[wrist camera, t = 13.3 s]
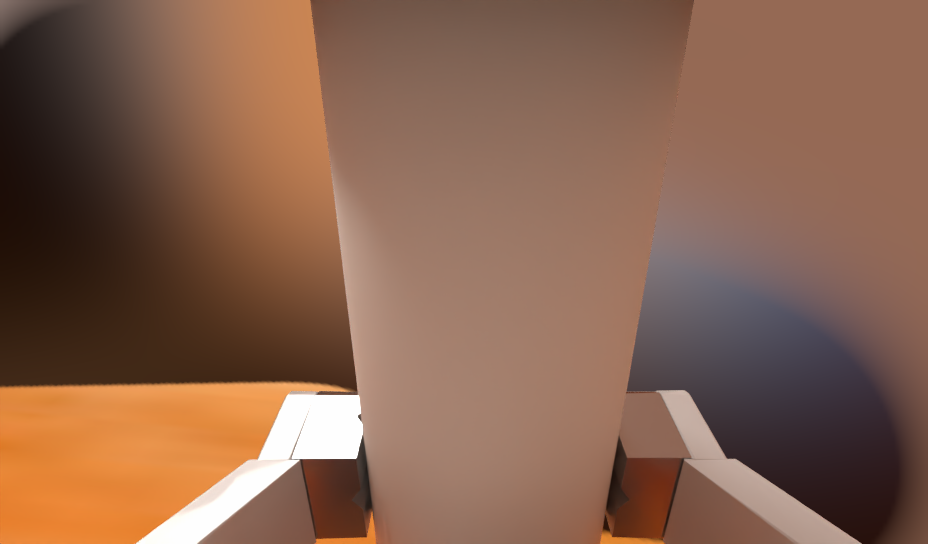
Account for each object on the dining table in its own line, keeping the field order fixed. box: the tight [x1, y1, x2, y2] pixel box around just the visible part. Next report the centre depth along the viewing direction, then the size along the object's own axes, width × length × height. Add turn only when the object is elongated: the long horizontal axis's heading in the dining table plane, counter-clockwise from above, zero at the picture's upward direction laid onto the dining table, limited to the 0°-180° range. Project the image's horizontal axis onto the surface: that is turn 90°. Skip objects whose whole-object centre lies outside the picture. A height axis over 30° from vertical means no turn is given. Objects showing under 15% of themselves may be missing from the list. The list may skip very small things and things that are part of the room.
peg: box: [311, 0, 694, 544], centre depth 9 cm, size 6×6×17 cm
